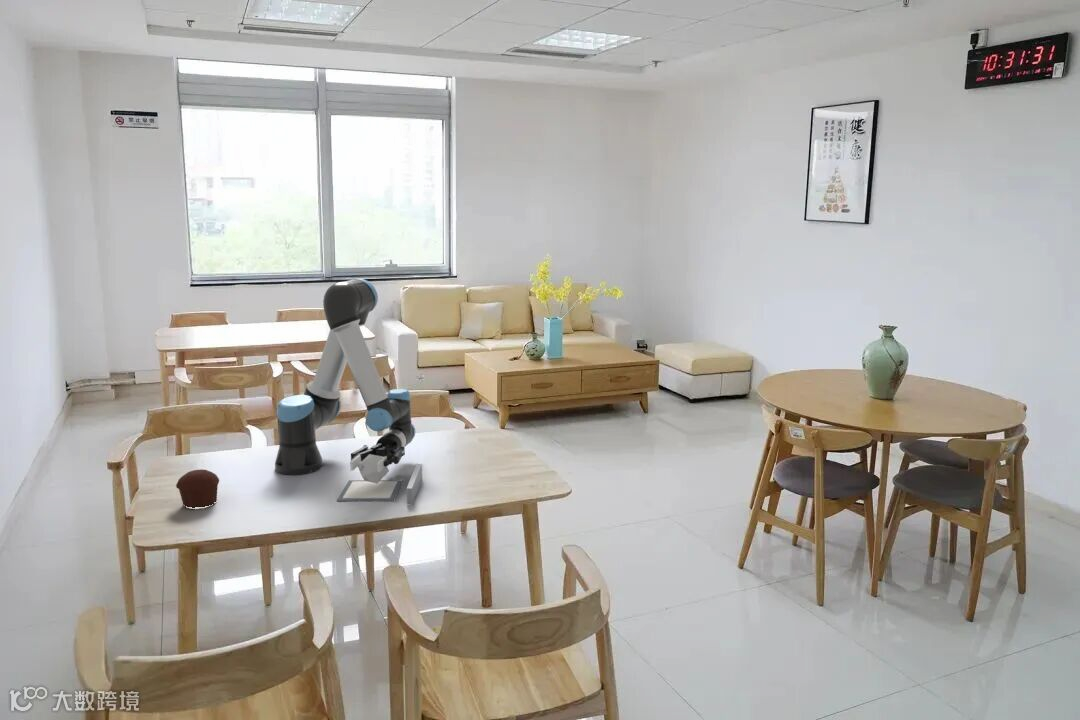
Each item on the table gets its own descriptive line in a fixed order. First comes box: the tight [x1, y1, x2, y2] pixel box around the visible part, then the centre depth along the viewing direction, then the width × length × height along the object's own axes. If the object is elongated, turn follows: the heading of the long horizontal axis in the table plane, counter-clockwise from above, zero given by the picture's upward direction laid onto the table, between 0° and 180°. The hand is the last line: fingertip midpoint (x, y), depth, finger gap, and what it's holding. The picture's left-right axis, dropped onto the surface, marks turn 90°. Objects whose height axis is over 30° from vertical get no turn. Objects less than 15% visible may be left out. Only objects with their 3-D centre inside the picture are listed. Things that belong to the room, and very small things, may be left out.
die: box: [357, 454, 390, 483], centre depth 242 cm, size 8×9×10 cm
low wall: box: [406, 463, 423, 506], centre depth 243 cm, size 2×22×5 cm, turn 1°
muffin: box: [175, 469, 220, 508], centre depth 232 cm, size 12×11×10 cm
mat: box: [335, 479, 404, 503], centre depth 243 cm, size 17×17×1 cm
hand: (364, 466), depth 237 cm, fingers closed on die, 8 cm apart
